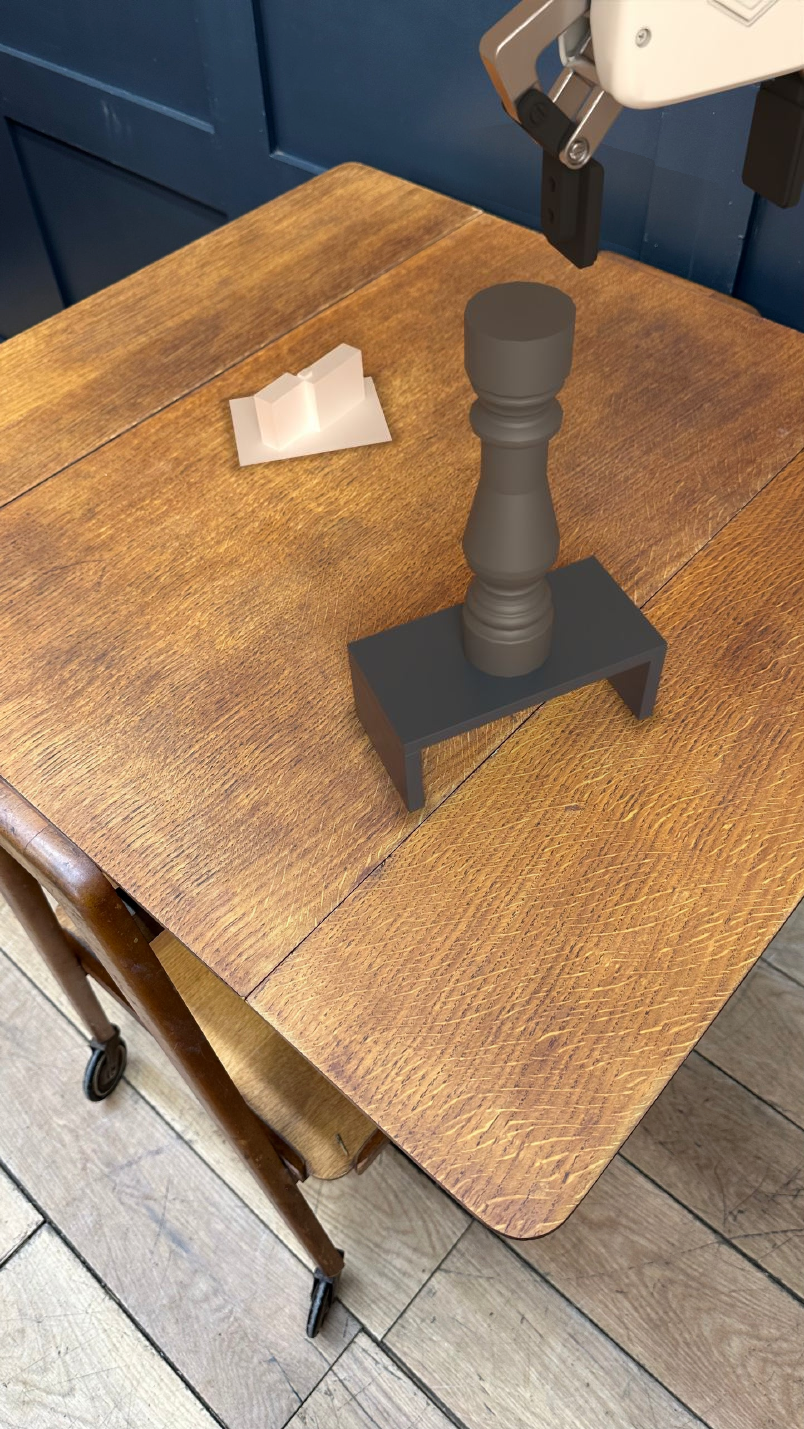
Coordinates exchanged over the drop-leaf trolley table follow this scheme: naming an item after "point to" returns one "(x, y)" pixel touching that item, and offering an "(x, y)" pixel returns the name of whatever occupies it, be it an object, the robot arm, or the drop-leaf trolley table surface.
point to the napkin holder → (310, 411)
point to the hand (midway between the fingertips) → (671, 223)
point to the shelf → (459, 697)
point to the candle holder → (513, 471)
